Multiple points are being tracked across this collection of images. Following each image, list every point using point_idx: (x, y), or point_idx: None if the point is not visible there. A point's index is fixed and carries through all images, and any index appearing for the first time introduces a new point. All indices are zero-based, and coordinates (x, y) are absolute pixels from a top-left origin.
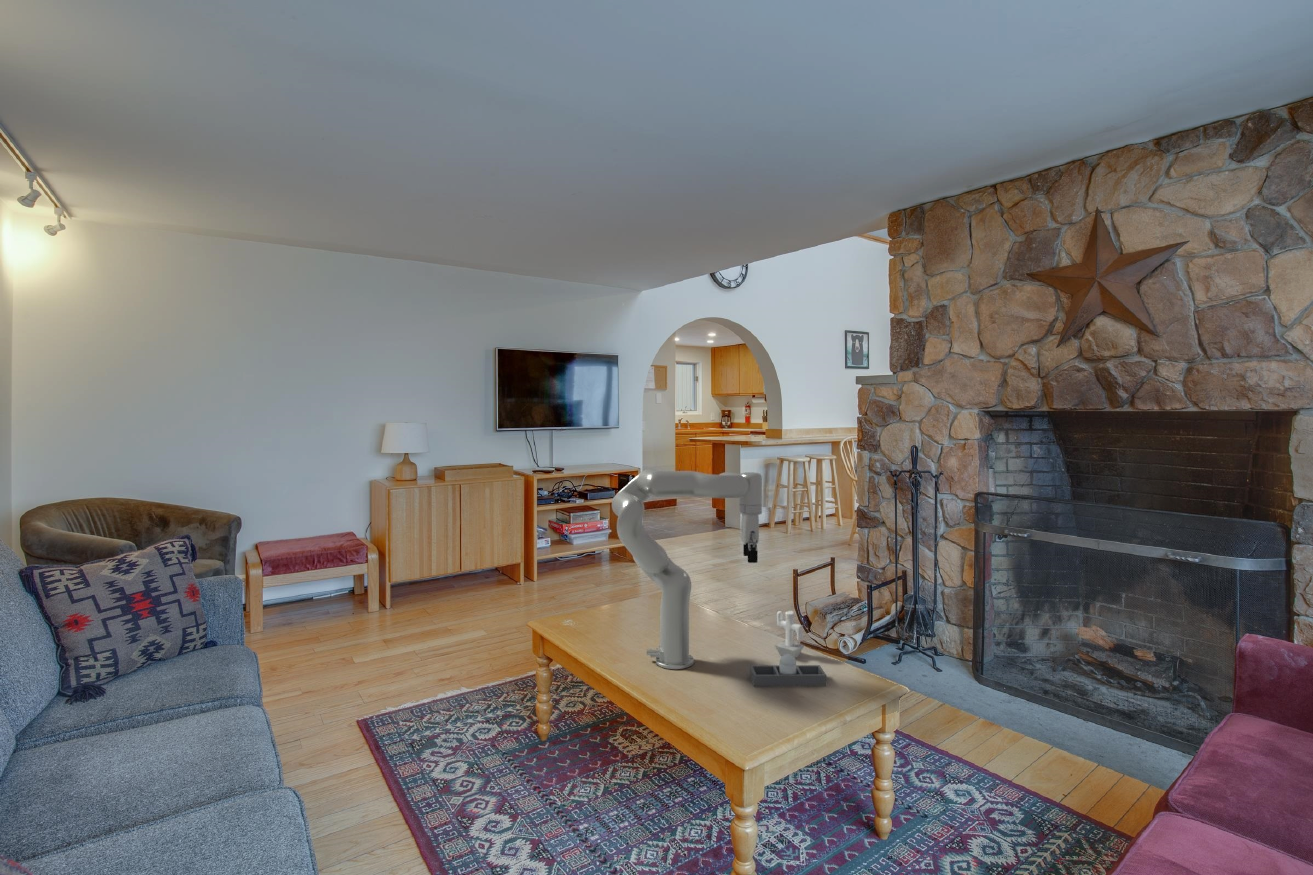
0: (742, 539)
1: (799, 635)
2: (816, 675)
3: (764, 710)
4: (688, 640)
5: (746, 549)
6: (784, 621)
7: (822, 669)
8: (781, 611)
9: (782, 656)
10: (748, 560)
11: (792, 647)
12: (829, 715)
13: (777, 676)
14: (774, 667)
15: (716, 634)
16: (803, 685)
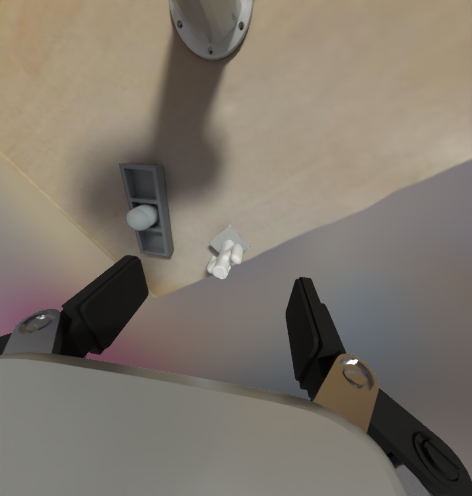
0: (90, 413)
1: (209, 261)
2: (138, 243)
3: (67, 159)
4: (184, 12)
5: (300, 321)
6: (227, 256)
7: (156, 254)
8: (235, 262)
9: (132, 215)
10: (120, 262)
11: (220, 245)
12: (82, 226)
13: (128, 197)
14: (153, 201)
15: (347, 142)
16: None
